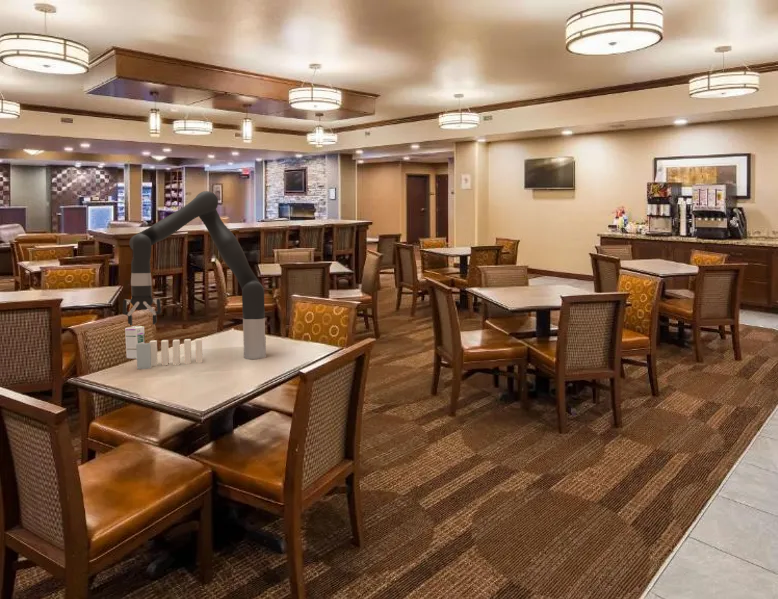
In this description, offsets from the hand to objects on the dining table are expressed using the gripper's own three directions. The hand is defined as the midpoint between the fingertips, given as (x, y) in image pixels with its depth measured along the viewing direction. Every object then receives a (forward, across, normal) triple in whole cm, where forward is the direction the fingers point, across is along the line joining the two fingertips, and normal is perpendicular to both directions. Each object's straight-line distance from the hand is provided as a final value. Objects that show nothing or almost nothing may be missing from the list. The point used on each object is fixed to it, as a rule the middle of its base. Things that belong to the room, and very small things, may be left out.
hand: (142, 324), depth 238 cm
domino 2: (+18, -3, -6) cm, 19 cm away
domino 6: (+18, -21, -6) cm, 28 cm away
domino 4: (+18, -12, -6) cm, 22 cm away
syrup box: (+18, +6, -23) cm, 30 cm away
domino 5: (+18, -17, -6) cm, 25 cm away
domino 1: (+18, 0, 0) cm, 18 cm away
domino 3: (+18, -8, -6) cm, 20 cm away
